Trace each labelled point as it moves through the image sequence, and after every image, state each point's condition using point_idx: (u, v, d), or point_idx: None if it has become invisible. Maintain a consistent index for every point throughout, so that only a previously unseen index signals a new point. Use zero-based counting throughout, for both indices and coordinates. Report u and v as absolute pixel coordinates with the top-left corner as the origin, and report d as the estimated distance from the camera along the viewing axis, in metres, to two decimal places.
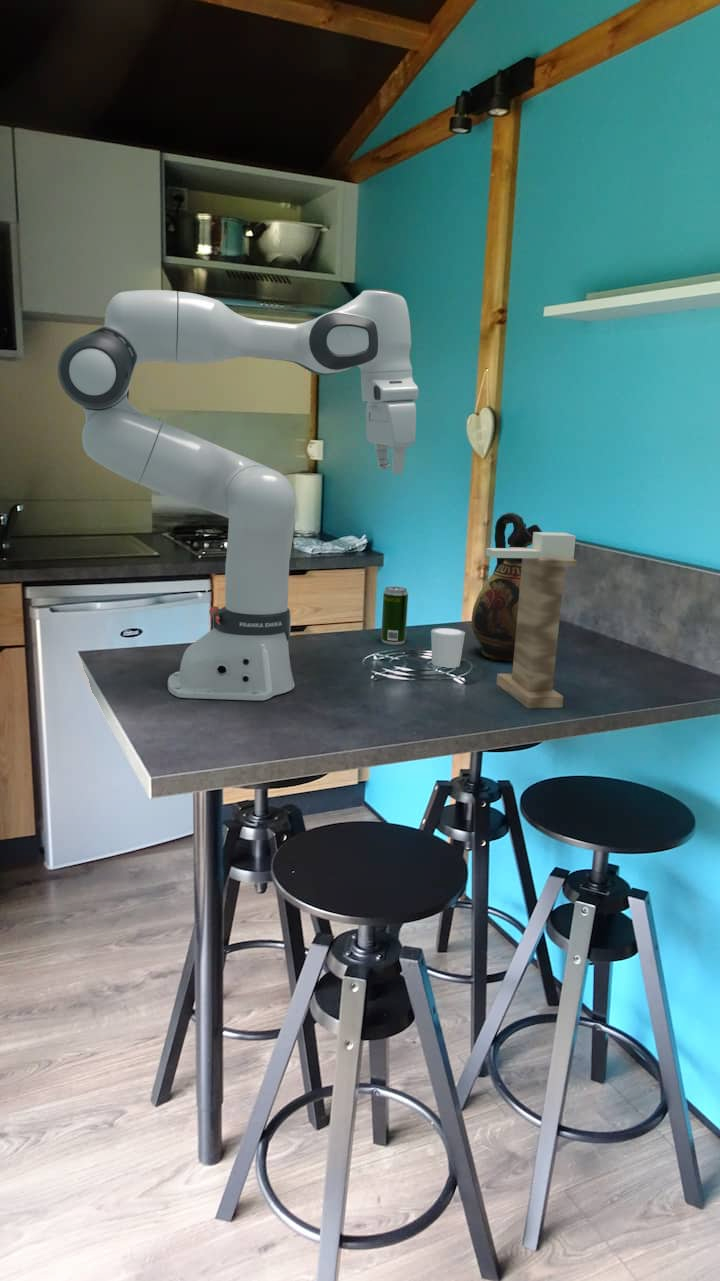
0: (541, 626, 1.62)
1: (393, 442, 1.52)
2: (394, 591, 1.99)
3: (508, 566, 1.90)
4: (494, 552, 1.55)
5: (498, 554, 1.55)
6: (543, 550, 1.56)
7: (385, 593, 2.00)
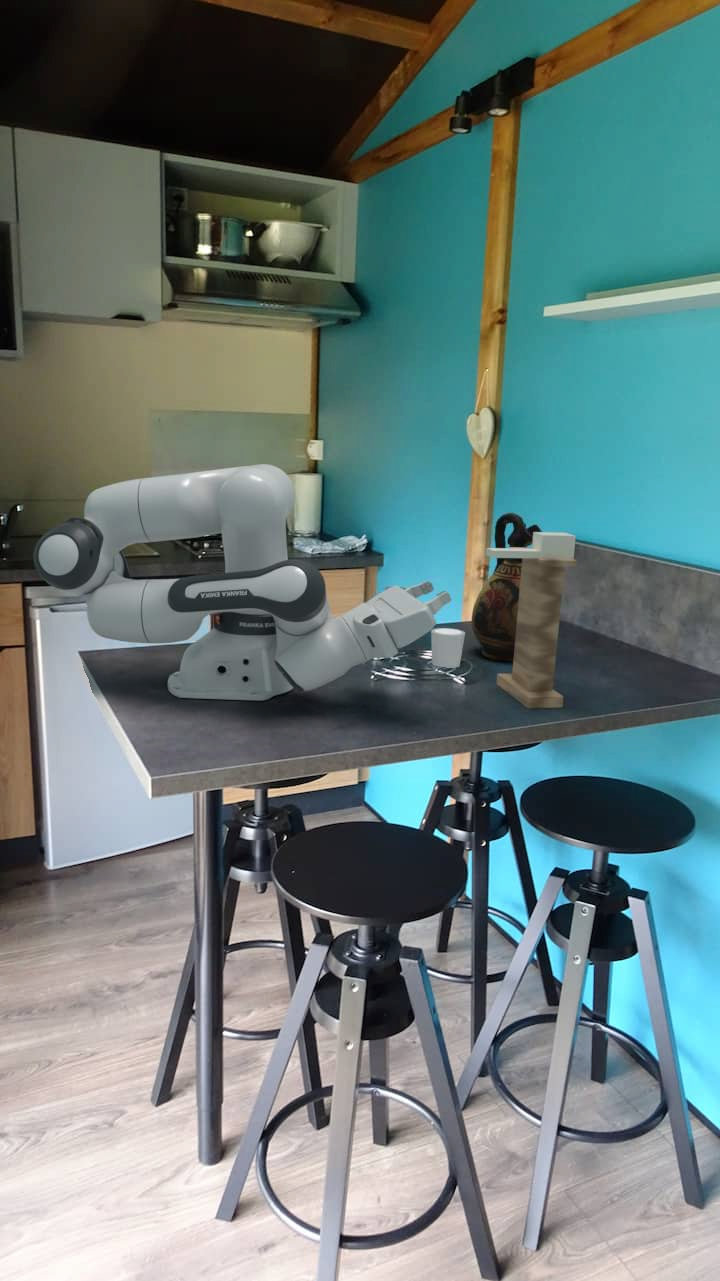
0: (541, 626, 1.62)
1: None
2: None
3: (508, 566, 1.90)
4: (494, 552, 1.55)
5: (498, 554, 1.55)
6: (543, 550, 1.56)
7: None
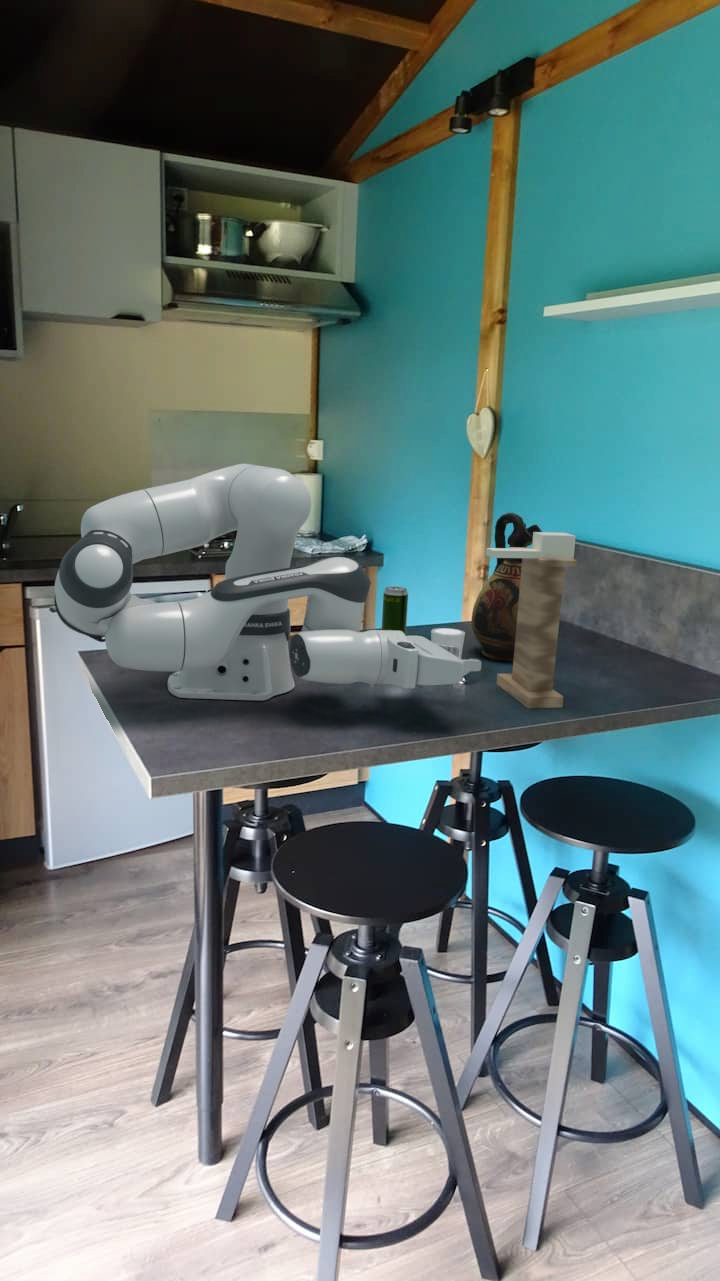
0: (541, 626, 1.62)
1: (458, 682, 1.46)
2: (394, 591, 1.99)
3: (508, 566, 1.90)
4: (494, 552, 1.55)
5: (498, 554, 1.55)
6: (543, 550, 1.56)
7: (385, 593, 2.00)
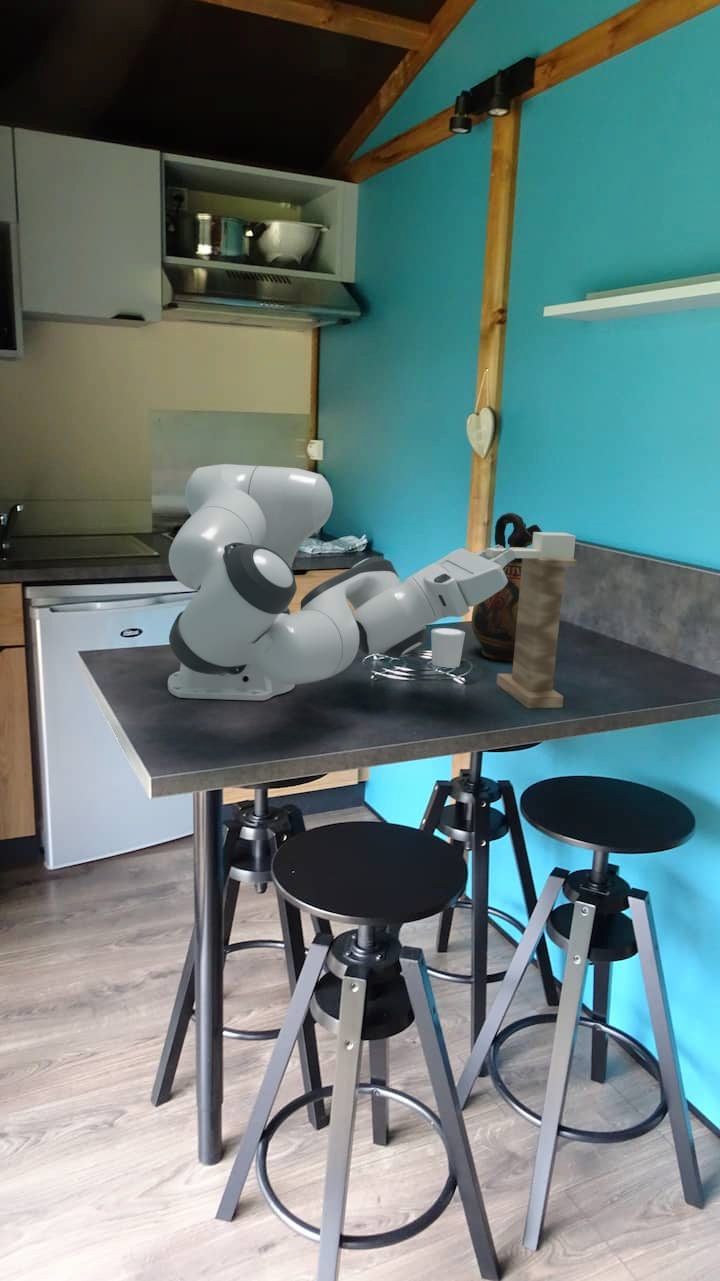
0: (541, 626, 1.62)
1: None
2: None
3: (508, 566, 1.90)
4: (494, 552, 1.55)
5: (498, 554, 1.55)
6: (543, 550, 1.56)
7: None
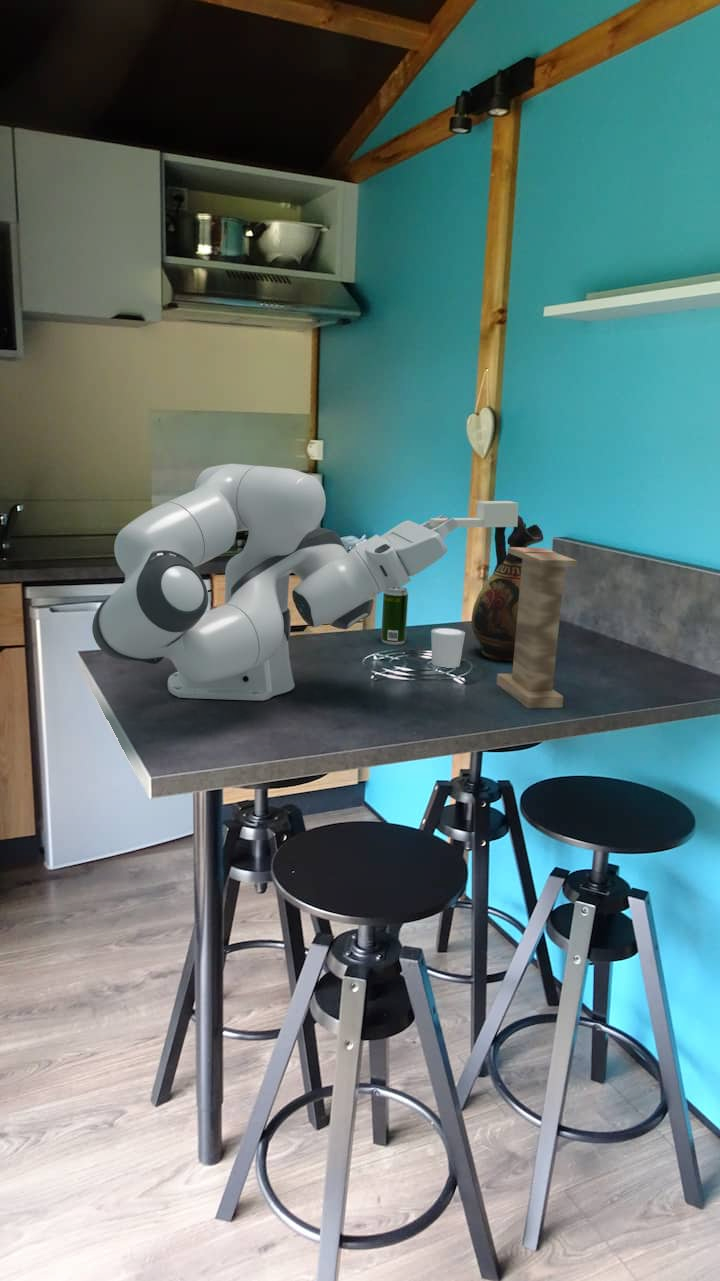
0: (541, 626, 1.62)
1: (444, 553, 1.48)
2: (394, 591, 1.99)
3: (508, 566, 1.90)
4: (436, 522, 1.55)
5: (440, 524, 1.55)
6: (486, 518, 1.56)
7: (385, 593, 2.00)
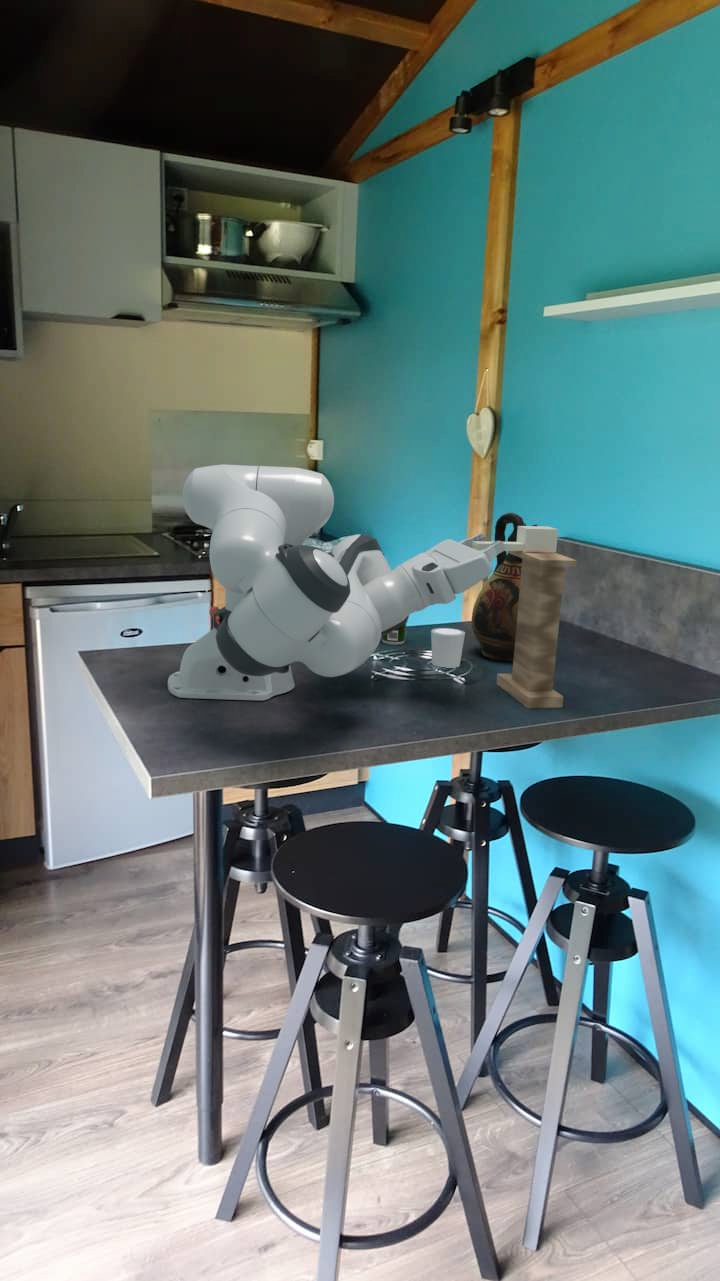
0: (541, 626, 1.62)
1: (489, 573, 1.54)
2: None
3: (508, 566, 1.90)
4: (480, 545, 1.61)
5: (483, 547, 1.62)
6: (527, 543, 1.63)
7: None
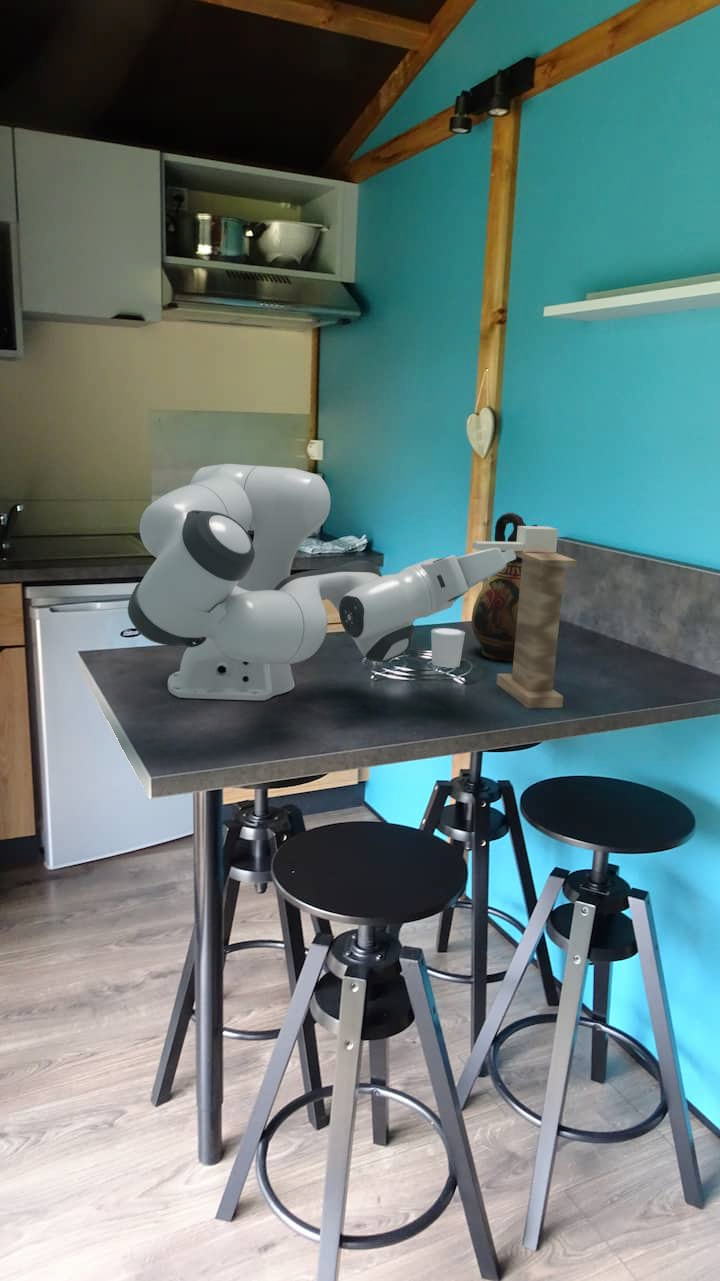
0: (541, 626, 1.62)
1: (504, 568, 1.48)
2: None
3: (508, 566, 1.90)
4: (480, 545, 1.61)
5: (483, 547, 1.62)
6: (527, 543, 1.63)
7: None
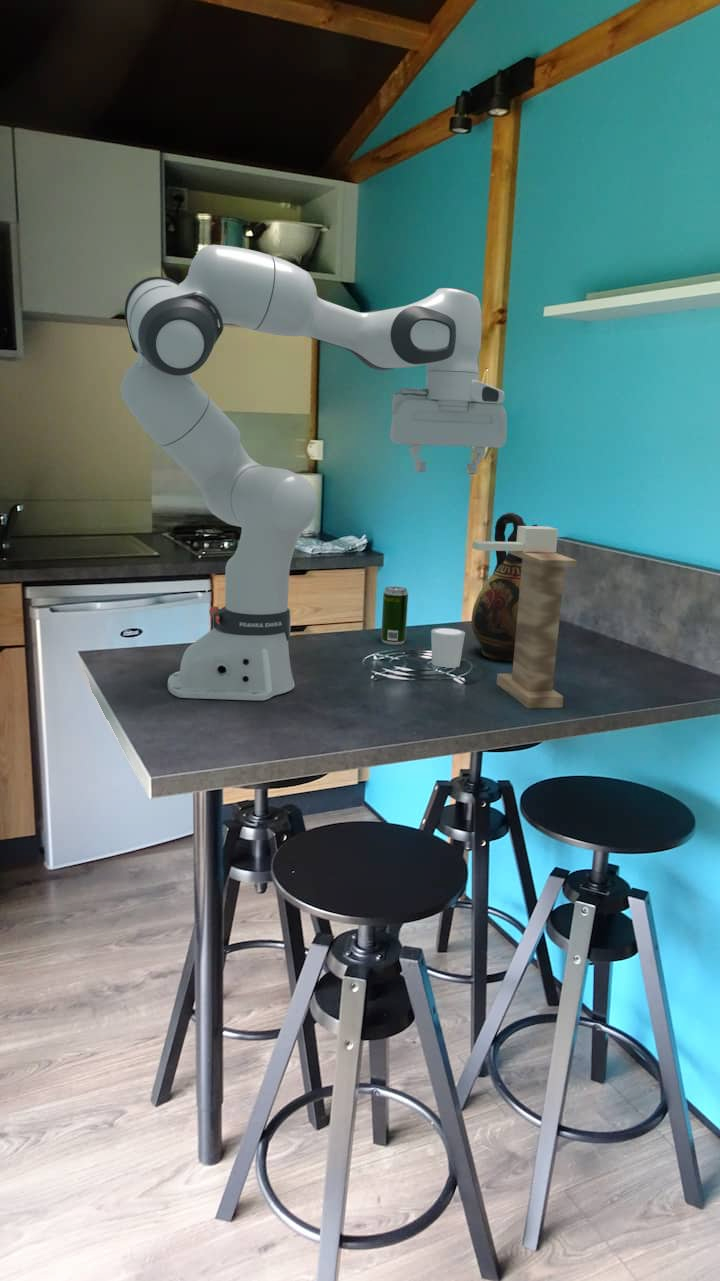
0: (541, 626, 1.62)
1: (503, 443, 1.60)
2: (394, 591, 1.99)
3: (508, 566, 1.90)
4: (480, 545, 1.61)
5: (483, 547, 1.62)
6: (527, 543, 1.63)
7: (385, 593, 2.00)
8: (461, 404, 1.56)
